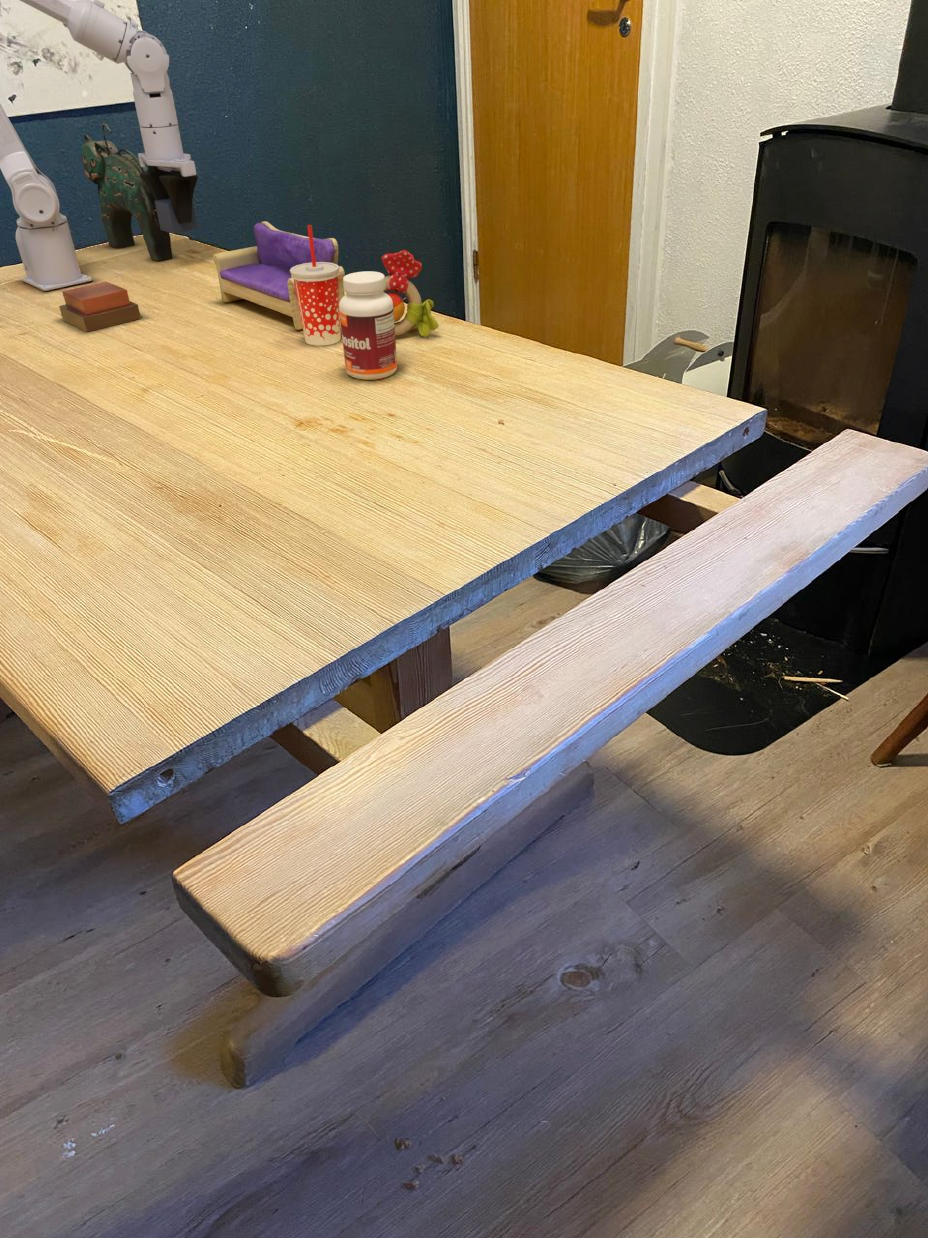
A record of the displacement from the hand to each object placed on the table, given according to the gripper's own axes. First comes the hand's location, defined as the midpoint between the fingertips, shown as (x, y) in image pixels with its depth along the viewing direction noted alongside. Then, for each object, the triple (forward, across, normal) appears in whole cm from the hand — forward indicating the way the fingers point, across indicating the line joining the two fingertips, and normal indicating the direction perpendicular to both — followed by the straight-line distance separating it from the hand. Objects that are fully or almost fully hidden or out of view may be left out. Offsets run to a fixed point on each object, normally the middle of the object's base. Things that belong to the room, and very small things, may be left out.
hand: (177, 220), depth 146 cm
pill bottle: (+7, -62, +10) cm, 63 cm away
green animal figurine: (+7, +16, 0) cm, 17 cm away
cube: (+1, 0, 0) cm, 1 cm away
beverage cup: (+7, -48, +7) cm, 49 cm away
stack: (+7, -17, +23) cm, 29 cm away
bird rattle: (+7, -55, -1) cm, 55 cm away
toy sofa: (+7, -33, +3) cm, 34 cm away
